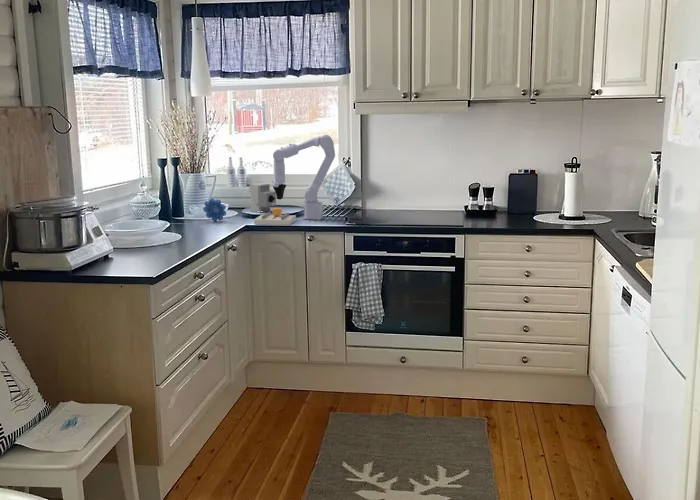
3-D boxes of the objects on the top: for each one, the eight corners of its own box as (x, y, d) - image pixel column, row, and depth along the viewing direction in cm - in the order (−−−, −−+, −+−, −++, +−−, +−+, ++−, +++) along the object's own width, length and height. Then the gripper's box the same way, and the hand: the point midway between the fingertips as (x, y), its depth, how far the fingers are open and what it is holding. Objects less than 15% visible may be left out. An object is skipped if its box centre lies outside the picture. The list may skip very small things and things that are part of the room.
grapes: (205, 223, 363) (203, 200, 361) (203, 220, 370) (202, 198, 367) (227, 221, 367) (226, 198, 364) (225, 219, 373) (224, 196, 370)
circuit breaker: (268, 214, 388) (268, 186, 385) (250, 211, 397) (249, 184, 393) (278, 212, 394) (277, 185, 391) (259, 209, 402) (258, 182, 399)
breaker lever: (281, 214, 371) (281, 208, 370) (280, 215, 368) (280, 209, 367) (274, 214, 371) (274, 207, 370) (272, 215, 368) (272, 208, 367)
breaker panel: (295, 220, 372) (295, 212, 371) (289, 225, 358) (289, 217, 357) (262, 219, 374) (262, 211, 373) (254, 224, 361) (254, 216, 360)
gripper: (275, 171, 378) (276, 196, 381) (268, 174, 364) (268, 200, 367) (288, 171, 377) (289, 196, 380) (281, 174, 363) (282, 201, 366)
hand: (280, 198), depth 373 cm, fingers closed
